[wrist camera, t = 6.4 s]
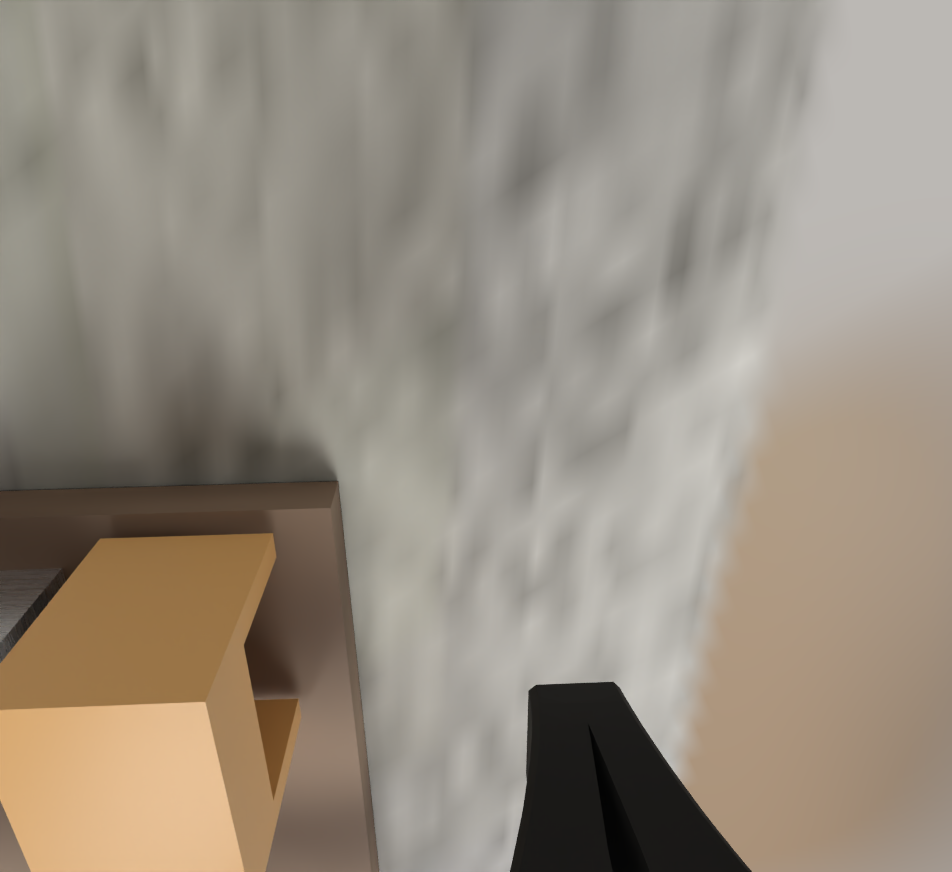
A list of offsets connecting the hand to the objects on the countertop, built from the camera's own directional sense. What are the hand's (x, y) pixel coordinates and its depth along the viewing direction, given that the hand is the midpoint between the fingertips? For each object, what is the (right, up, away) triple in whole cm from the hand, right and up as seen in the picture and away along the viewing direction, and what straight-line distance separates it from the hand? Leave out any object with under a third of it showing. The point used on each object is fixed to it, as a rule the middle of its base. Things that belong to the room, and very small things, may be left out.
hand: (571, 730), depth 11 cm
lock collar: (-7, +1, +2) cm, 7 cm away
